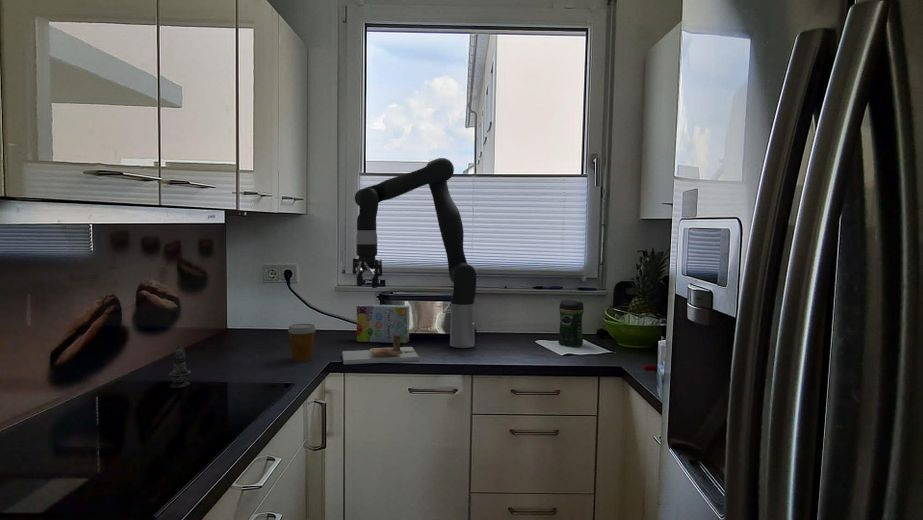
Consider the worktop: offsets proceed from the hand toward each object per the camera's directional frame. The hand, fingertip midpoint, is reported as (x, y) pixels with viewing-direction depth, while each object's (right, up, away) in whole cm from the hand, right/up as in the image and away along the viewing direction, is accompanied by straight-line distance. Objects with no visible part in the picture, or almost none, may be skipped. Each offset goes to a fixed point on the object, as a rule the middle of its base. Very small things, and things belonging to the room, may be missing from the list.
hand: (367, 286), depth 191 cm
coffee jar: (+80, -25, +23) cm, 87 cm away
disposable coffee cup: (-21, -25, -8) cm, 34 cm away
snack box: (+2, -24, +24) cm, 34 cm away
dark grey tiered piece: (-47, -27, -40) cm, 67 cm away
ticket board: (+5, -25, -4) cm, 26 cm away
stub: (+8, -23, -7) cm, 25 cm away
